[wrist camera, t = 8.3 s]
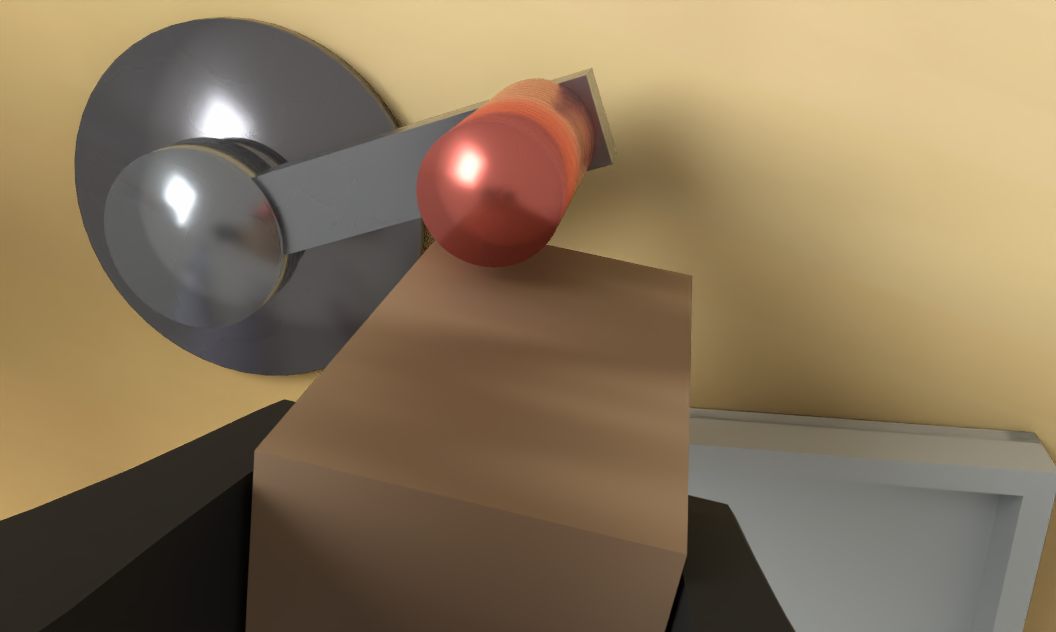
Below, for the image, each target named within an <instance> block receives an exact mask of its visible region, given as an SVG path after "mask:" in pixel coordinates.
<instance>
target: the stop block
mask: <svg viewBox="0 0 1056 632" xmlns="http://www.w3.org/2000/svg"><path fill="white" fill-rule="evenodd" d="M691 306H692V276H690V275H685V274H681V273H676V272H671V271H667V270H662V269H657V268H653V267H648V266H643V265H639V264H634V263H629V262H624V261H620V260H615V259H610V258H606V257H601V256H596V255H592V254H587V253H582V252H578V251H573V250H568V249H564V248H559V247H554V246H550V245H545V246H544V247H543V248H542V249H541V250H540V251H539V252H538V253H536V254H535V255H533V256H532V257H530V258H529V259H527V260H525V261H523V262H521V263H518V264H515V265H511V266H506V267H495V268H493V267H482V266H477V265H473V264H470V263H467V262H465V261H463V260H461V259H459V258H457V257H455V256H454V255H452V254H450V253H449V252H448V251H446V250H445V249H444V248H443V247H442V246H441V245H440V244H439V243H438V242H437V241H436V240H435V241H434V242H433V243H432V244H431V245H430V247H429V248H428V249H427V250H426V251H425V252H424V254H423V255H422V256H421V257H420V258H419V259H418V261H417V262H416V263H415V264H414V265H413V266H412V268H411V269H410V270H409V271H408V272H407V273H406V275H405V276H404V277H403V278H402V279H401V280H400V282H399V283H398V284H397V285H396V286H395V287H394V289H393V290H392V291H391V292H390V293H389V294H388V295H387V297H386V298H385V299H384V300H383V301H382V302H381V304H380V305H379V306H378V307H377V308H376V309H375V311H374V312H373V313H372V314H371V315H370V316H369V318H368V319H367V320H366V321H365V322H364V323H363V325H362V326H361V327H360V328H359V329H358V330H357V332H356V333H355V334H354V335H353V336H352V337H351V339H350V340H349V341H348V342H347V343H346V344H345V346H344V347H343V348H342V349H341V350H340V351H339V353H338V354H337V355H336V356H335V357H334V358H333V360H332V361H331V362H330V363H329V364H328V365H327V367H326V368H325V369H324V370H323V371H322V372H321V374H320V375H319V376H318V377H317V378H316V379H315V381H314V382H313V383H312V384H311V385H310V386H309V388H308V389H307V390H306V391H305V392H304V393H303V395H302V396H301V397H300V398H299V399H298V400H297V402H296V403H295V404H294V405H293V406H292V407H291V409H290V410H289V411H288V412H287V413H286V414H285V416H284V417H283V418H282V419H281V420H280V421H279V423H278V424H277V425H276V426H275V427H274V428H273V429H272V431H271V432H270V433H269V434H268V435H267V436H266V438H265V439H264V440H263V441H262V442H261V443H260V445H259V446H258V447H257V448H256V449H255V452H254V471H253V491H252V511H251V531H250V551H249V570H248V590H247V610H246V630H245V632H665V629H666V626H667V622H668V619H669V615H670V612H671V608H672V605H673V601H674V598H675V595H676V591H677V588H678V584H679V581H680V577H681V574H682V570H683V567H684V563H685V560H686V557H687V530H688V474H689V418H690V362H691Z"/></svg>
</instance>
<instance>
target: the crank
mask: <svg viewBox="0 0 1056 632" xmlns="http://www.w3.org/2000/svg"><path fill="white" fill-rule="evenodd" d="M616 153H617V152H616V149H615V146H614V142H613V139H612V135H611V132H610V128H609V125H608V121H607V118H606V114H605V111H604V107H603V104H602V100H601V97H600V94H599V90H598V87H597V83H596V80H595V76H594V73H593V69H592V68H590V69H587V70H584V71H580V72H577V73H574V74H571V75H568V76H564V77H561V78H558V79H555V80H551V81H550V80H544V79H528V80H523V81H519V82H517V83H514V84H512V85H510V86H508V87H506V88H505V89H504V90H502V91H501V92H500V93H498V94H497V95H496V96H494V97H493V98H492V99H490V100H487V101H484V102H481V103H477V104H474V105H471V106H468V107H464V108H461V109H458V110H455V111H452V112H448V113H445V114H442V115H439V116H435V117H432V118H429V119H426V120H423V121H419V122H416V123H413V124H410V125H406V126H403V127H400V128H397V129H394V130H390V131H387V132H384V133H381V134H377V135H374V136H371V137H368V138H365V139H361V140H358V141H355V142H352V143H348V144H345V145H342V146H339V147H336V148H332V149H329V150H326V151H323V152H319V153H316V154H313V155H310V156H307V157H303V158H300V159H297V160H294V161H290V162H287V163H284V164H281V165H278V166H274V167H270V166H269V165H268V164H267V163H266V162H265V161H264V160H263V159H261V158H260V157H259V156H258V155H256V154H255V153H253V152H251V151H250V150H248V149H247V148H245V147H242V146H240V145H238V144H236V143H233V142H230V141H227V140H223V139H218V138H211V137H197V138H189V139H185V140H181V141H179V142H176V143H174V144H171V145H168V146H166V147H163V148H161V149H158V150H156V151H153V152H151V153H148V154H146V155H143V156H141V157H139V158H137V159H136V160H134V161H133V162H131V163H130V164H129V165H128V166H126V167H125V168H124V169H123V170H122V171H121V173H120V174H119V175H118V176H117V178H116V179H115V181H114V183H113V184H112V186H111V188H110V191H109V194H108V196H107V200H106V205H105V211H104V231H105V237H106V242H107V246H108V249H109V252H110V255H111V257H112V260H113V262H114V264H115V266H116V268H117V270H118V272H119V273H120V275H121V277H122V278H123V279H124V281H125V282H126V284H127V285H128V286H129V287H130V289H131V290H132V291H133V292H134V293H135V294H136V295H137V296H138V297H139V298H140V299H141V300H142V301H143V302H144V303H145V304H147V305H148V306H149V307H151V308H152V309H153V310H155V311H157V312H158V313H160V314H161V315H163V316H165V317H167V318H169V319H171V320H173V321H176V322H179V323H182V324H185V325H189V326H194V327H202V328H218V327H224V326H229V325H232V324H235V323H238V322H240V321H242V320H243V319H245V318H247V317H249V316H250V315H251V314H253V313H254V312H255V311H257V310H258V309H259V308H260V307H261V306H263V305H264V304H265V303H266V302H267V301H269V300H270V299H271V298H272V297H273V296H275V295H276V294H277V293H278V292H279V291H280V290H281V289H282V288H283V287H284V286H285V285H286V284H287V283H288V281H289V280H290V279H291V277H292V276H293V274H294V272H295V270H296V268H297V265H298V262H299V259H300V254H301V251H302V250H305V249H309V248H313V247H316V246H320V245H323V244H327V243H331V242H334V241H338V240H341V239H345V238H349V237H352V236H356V235H359V234H363V233H366V232H370V231H374V230H377V229H381V228H384V227H388V226H392V225H395V224H399V223H402V222H406V221H410V220H413V219H417V218H420V217H422V219H423V221H424V224H425V226H426V227H427V229H428V231H429V232H430V234H431V235H432V236H433V238H434V239H435V240H436V241H437V242H438V243H439V244H440V245H441V246H442V247H443V248H444V249H445V250H446V251H448V252H449V253H450V254H452V255H454V256H455V257H457V258H459V259H461V260H463V261H465V262H467V263H470V264H473V265H477V266H482V267H493V268H495V267H506V266H511V265H515V264H518V263H521V262H523V261H525V260H527V259H529V258H530V257H532V256H533V255H535V254H536V253H538V252H539V251H540V250H541V249H542V248H543V247H544V246H545V245H546V244H547V243H548V241H549V240H550V239H551V237H552V236H553V234H554V232H555V230H556V228H557V227H558V225H559V223H560V221H561V219H562V217H563V215H564V213H565V211H566V209H567V207H568V205H569V203H570V201H571V199H572V197H573V195H574V193H575V191H576V189H577V188H578V186H579V184H580V182H581V180H582V178H583V176H584V174H585V172H586V171H589V170H592V169H596V168H600V167H603V166H607V165H610V164H612V163H613V160H614V158H615V156H616Z"/></svg>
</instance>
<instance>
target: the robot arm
mask: <svg viewBox="0 0 1056 632" xmlns="http://www.w3.org/2000/svg"><path fill="white" fill-rule="evenodd" d="M295 403H296V402H293V401H289V400H282V401H279V402H277V403H274V404H272V405H269V406H267V407H264V408H262V409H260V410H258V411H255V412H253V413H251V414H249V415H247V416H245V417H242V418H240V419H238V420H236V421H234V422H232V423H229V424H227V425H225V426H223V427H221V428H219V429H217V430H215V431H212V432H210V433H208V434H206V435H204V436H202V437H200V438H198V439H195V440H193V441H191V442H189V443H187V444H184V445H182V446H180V447H178V448H176V449H174V450H171V451H169V452H167V453H165V454H163V455H160V456H158V457H156V458H154V459H152V460H149V461H147V462H145V463H143V464H141V465H139V466H136V467H134V468H132V469H130V470H127V471H125V472H122V473H120V474H118V475H115V476H113V477H110V478H108V479H105V480H103V481H100V482H98V483H95V484H93V485H90V486H88V487H86V488H83V489H81V490H78V491H76V492H73V493H71V494H68V495H66V496H63V497H61V498H59V499H56V500H54V501H51V502H49V503H46V504H44V505H41V506H39V507H36V508H34V509H31V510H29V511H26V512H23V513H20V514H18V515H15V516H12V517H10V518H7V519H4V520H1V521H0V632H245V630H246V610H247V590H248V570H249V551H250V531H251V511H252V491H253V471H254V452H255V449H256V448H257V447H258V446H259V445H260V443H261V442H262V441H263V440H264V439H265V438H266V436H267V435H268V434H269V433H270V432H271V431H272V429H273V428H274V427H275V426H276V425H277V424H278V423H279V421H280V420H281V419H282V418H283V417H284V416H285V414H286V413H287V412H288V411H289V410H290V409H291V407H292V406H293V405H294V404H295ZM665 632H796V631H795V630H794V628H793V626H792V625H791V623H790V621H789V619H788V618H787V616H786V614H785V613H784V611H783V609H782V607H781V605H780V603H779V602H778V600H777V598H776V596H775V594H774V592H773V591H772V589H771V587H770V585H769V583H768V581H767V579H766V577H765V575H764V573H763V571H762V569H761V568H760V566H759V564H758V562H757V560H756V558H755V556H754V554H753V552H752V550H751V548H750V546H749V544H748V542H747V539H746V537H745V535H744V533H743V531H742V529H741V527H740V525H739V523H738V521H737V519H736V517H735V515H734V513H733V512H732V510H731V509H730V507H729V505H728V504H725V503H720V502H716V501H712V500H708V499H703V498H699V497H695V496H691V495H688V530H687V557H686V560H685V563H684V567H683V570H682V574H681V577H680V581H679V584H678V588H677V591H676V595H675V598H674V601H673V605H672V608H671V612H670V615H669V619H668V622H667V626H666V629H665Z"/></svg>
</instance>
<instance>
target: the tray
mask: <svg viewBox="0 0 1056 632" xmlns="http://www.w3.org/2000/svg"><path fill="white" fill-rule="evenodd" d="M688 495H691V496H695V497H699V498H703V499H708V500H712V501H716V502H720V503H725V504H728V505H729V507H730V509H731V510H732V512H733V513H734V515H735V517H736V519H737V521H738V523H739V525H740V527H741V529H742V531H743V533H744V535H745V537H746V539H747V542H748V544H749V546H750V548H751V550H752V552H753V554H754V556H755V558H756V560H757V562H758V564H759V566H760V568H761V569H762V571H763V573H764V575H765V577H766V579H767V581H768V583H769V585H770V587H771V589H772V591H773V592H774V594H775V596H776V598H777V600H778V602H779V603H780V605H781V607H782V609H783V611H784V613H785V614H786V616H787V618H788V619H789V621H790V623H791V625H792V626H793V628H794V630H795V631H796V632H1023V628H1024V624H1025V620H1026V616H1027V612H1028V608H1029V603H1030V599H1031V595H1032V591H1033V587H1034V583H1035V578H1036V574H1037V570H1038V566H1039V562H1040V558H1041V554H1042V549H1043V545H1044V541H1045V537H1046V533H1047V529H1048V525H1049V520H1050V516H1051V512H1052V508H1053V504H1054V500H1055V496H1056V465H1055V464H1054V462H1053V461H1052V459H1051V458H1050V456H1049V455H1048V453H1047V452H1046V450H1045V449H1044V447H1043V445H1042V444H1041V442H1040V441H1039V439H1038V438H1037V436H1036V435H1035V433H1032V432H1018V431H1004V430H990V429H976V428H963V427H949V426H935V425H921V424H907V423H893V422H879V421H866V420H852V419H838V418H824V417H810V416H796V415H783V414H769V413H755V412H741V411H727V410H713V409H700V408H690V418H689V474H688Z"/></svg>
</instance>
